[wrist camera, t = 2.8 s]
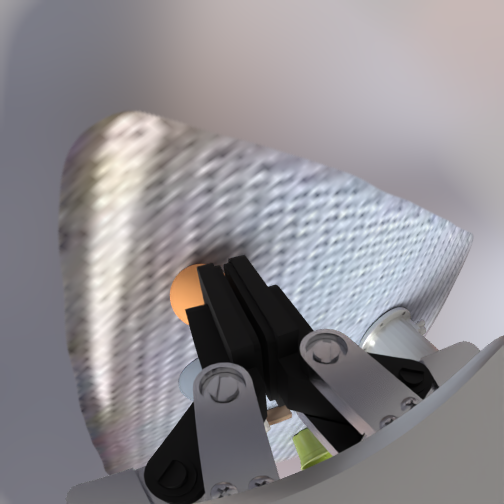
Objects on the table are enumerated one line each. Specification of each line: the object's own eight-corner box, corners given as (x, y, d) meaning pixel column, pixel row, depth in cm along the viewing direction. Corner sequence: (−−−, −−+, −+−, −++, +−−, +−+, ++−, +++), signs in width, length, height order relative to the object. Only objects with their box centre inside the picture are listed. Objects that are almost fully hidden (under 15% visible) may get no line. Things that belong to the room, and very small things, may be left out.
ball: (220, 246, 28) (238, 277, 23) (228, 295, 31) (245, 331, 26) (161, 260, 26) (166, 296, 21) (174, 309, 29) (183, 348, 24)
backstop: (286, 403, 46) (291, 413, 44) (286, 407, 47) (291, 417, 45) (179, 434, 41) (182, 446, 39) (182, 438, 41) (185, 449, 39)
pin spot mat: (258, 338, 35) (259, 339, 35) (263, 388, 41) (264, 389, 41) (168, 363, 32) (168, 364, 32) (190, 409, 38) (190, 410, 38)
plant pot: (323, 417, 55) (341, 445, 48) (319, 432, 60) (335, 457, 53) (286, 433, 53) (302, 463, 46) (286, 447, 58) (300, 473, 50)
